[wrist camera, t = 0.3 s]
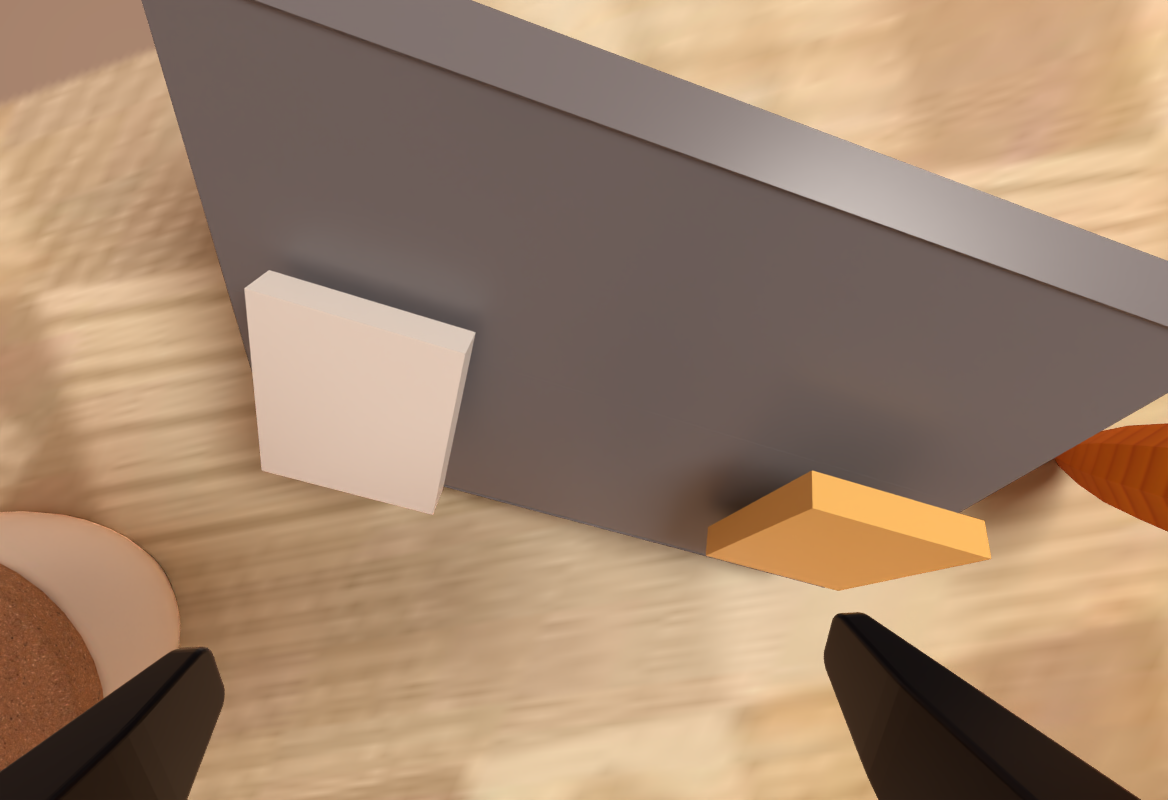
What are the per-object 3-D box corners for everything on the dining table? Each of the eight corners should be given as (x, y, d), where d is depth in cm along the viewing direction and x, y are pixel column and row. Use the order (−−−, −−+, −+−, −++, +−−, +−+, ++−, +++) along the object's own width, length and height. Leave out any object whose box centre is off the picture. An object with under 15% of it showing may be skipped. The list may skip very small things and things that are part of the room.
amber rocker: (828, 578, 19) (913, 688, 15) (700, 544, 19) (745, 646, 14) (891, 457, 18) (1005, 535, 13) (754, 416, 18) (824, 482, 13)
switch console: (792, 560, 25) (1076, 793, 12) (306, 429, 22) (-14, 542, 9) (872, 319, 24) (1269, 284, 11) (380, 156, 21) (146, -141, 8)
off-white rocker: (436, 512, 17) (408, 535, 12) (272, 470, 16) (172, 475, 11) (481, 362, 17) (474, 325, 13) (326, 316, 17) (255, 258, 12)
